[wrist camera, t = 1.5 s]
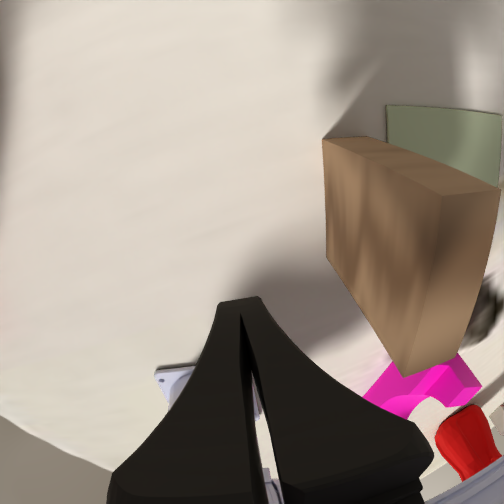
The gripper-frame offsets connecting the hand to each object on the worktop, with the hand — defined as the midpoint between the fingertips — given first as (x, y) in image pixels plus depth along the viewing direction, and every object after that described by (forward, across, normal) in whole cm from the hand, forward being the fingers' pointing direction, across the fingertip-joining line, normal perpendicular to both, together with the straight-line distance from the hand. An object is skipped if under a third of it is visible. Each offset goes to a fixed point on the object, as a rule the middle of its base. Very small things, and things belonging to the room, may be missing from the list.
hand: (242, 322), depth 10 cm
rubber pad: (+10, -17, 0) cm, 19 cm away
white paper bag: (+10, -52, +54) cm, 75 cm away
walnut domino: (+10, -8, 0) cm, 12 cm away
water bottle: (+10, -33, +42) cm, 54 cm away
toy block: (+10, -14, +22) cm, 29 cm away
